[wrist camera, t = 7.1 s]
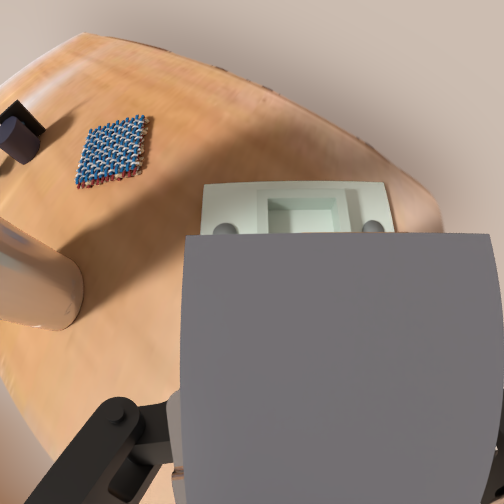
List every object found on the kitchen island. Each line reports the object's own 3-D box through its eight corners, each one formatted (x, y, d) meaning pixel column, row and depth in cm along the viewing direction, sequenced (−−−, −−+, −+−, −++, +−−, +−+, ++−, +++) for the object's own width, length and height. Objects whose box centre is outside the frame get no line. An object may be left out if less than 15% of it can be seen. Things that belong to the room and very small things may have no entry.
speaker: (25, 139, 38) (-3, 110, 28) (46, 129, 39) (18, 97, 29) (17, 171, 37) (-16, 144, 27) (38, 161, 37) (5, 131, 27)
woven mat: (77, 194, 33) (70, 187, 31) (92, 137, 37) (86, 129, 35) (143, 179, 33) (137, 170, 31) (151, 120, 36) (147, 111, 34)
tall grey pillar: (249, 405, 15) (196, 570, 2) (249, 321, 17) (186, 223, 4) (325, 402, 15) (473, 519, 2) (324, 319, 17) (486, 225, 3)
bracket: (199, 297, 27) (190, 290, 24) (205, 189, 31) (199, 171, 28) (399, 290, 26) (414, 282, 23) (380, 186, 30) (390, 170, 27)
